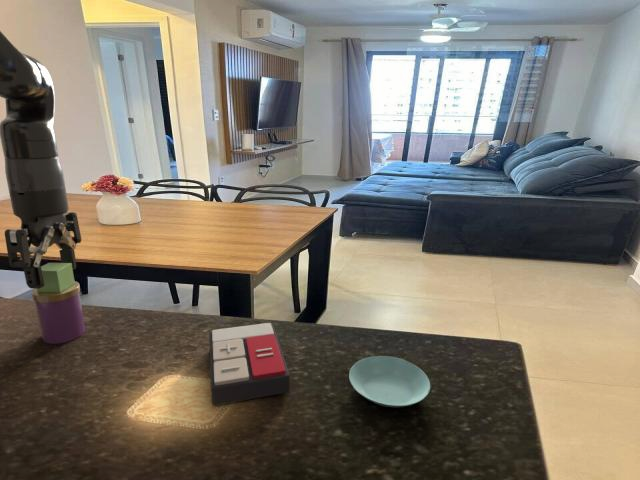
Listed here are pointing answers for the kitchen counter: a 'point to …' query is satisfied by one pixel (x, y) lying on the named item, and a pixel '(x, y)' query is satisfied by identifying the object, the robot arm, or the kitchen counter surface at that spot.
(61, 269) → the cube
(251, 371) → the calculator
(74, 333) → the jar
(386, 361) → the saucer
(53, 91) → the robot arm
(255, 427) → the kitchen counter surface
